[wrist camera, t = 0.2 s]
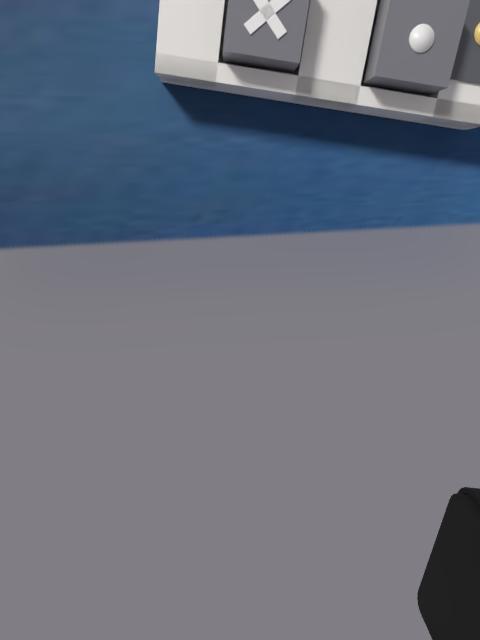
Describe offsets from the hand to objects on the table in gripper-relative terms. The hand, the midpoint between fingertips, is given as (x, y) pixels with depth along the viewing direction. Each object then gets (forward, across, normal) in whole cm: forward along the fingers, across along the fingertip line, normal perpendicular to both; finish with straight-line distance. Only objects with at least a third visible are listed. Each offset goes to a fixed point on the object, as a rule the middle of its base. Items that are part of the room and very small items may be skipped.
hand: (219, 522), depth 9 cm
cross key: (+28, -1, -17) cm, 33 cm away
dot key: (+28, -11, -17) cm, 34 cm away
